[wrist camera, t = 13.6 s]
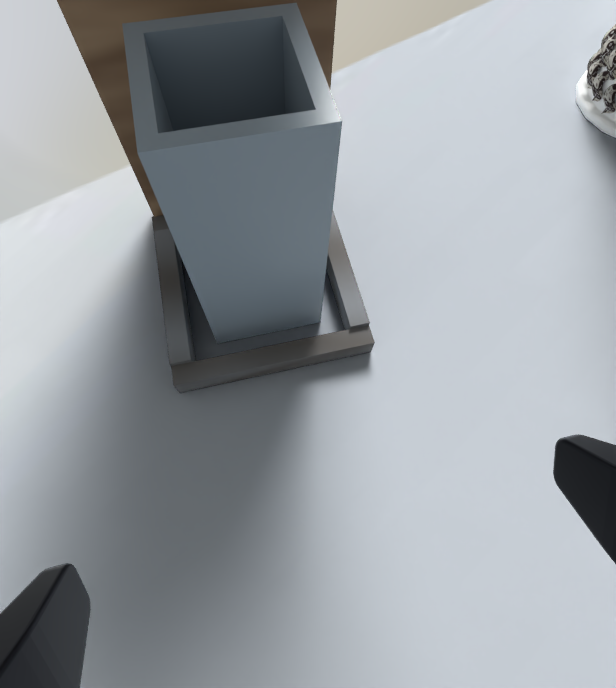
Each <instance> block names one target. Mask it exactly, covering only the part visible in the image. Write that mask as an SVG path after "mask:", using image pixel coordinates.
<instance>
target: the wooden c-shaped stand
mask: <svg viewBox="0 0 616 688" xmlns="http://www.w3.org/2000/svg"><path fill="white" fill-rule="evenodd" d="M57 2H58V4H59V6H60V8H61V11H62V13H63V15H64V17H65V19H66V22H67V24H68V26H69V28H70V31H71V33H72V35H73V37H74V39H75V42H76V44H77V46H78V48H79V51H80V53H81V55H82V57H83V59H84V62H85V64H86V66H87V68H88V71H89V73H90V75H91V77H92V80H93V81H94V84H95V86H96V88H97V91H98V93H99V95H100V97H101V100H102V102H103V104H104V106H105V108H106V110H107V113H108V115H109V117H110V119H111V122H112V124H113V126H114V128H115V130H116V133H117V135H118V137H119V140H120V142H121V144H122V146H123V148H124V150H125V153H126V155H127V157H128V160H129V162H130V164H131V166H132V168H133V171H134V173H135V175H136V177H137V180H138V182H139V184H140V186H141V188H142V191H143V193H144V195H145V197H146V200H147V202H148V204H149V206H150V208H151V211H152V213H153V215H154V217H152V221H153V229H154V238H155V246H156V254H157V263H158V271H159V279H160V288H161V296H162V304H163V313H164V321H165V330H166V338H167V346H168V355H169V363H170V365H171V368H172V376H173V384H174V386H175V388H176V389H177V390H178V391H179V392H180V393H182V392H186V391H191V390H196V389H200V388H205V387H210V386H214V385H219V384H224V383H228V382H233V381H237V380H242V379H247V378H251V377H256V376H261V375H265V374H270V373H275V372H279V371H284V370H289V369H293V368H298V367H303V366H307V365H312V364H317V363H321V362H326V361H331V360H335V359H340V358H344V357H349V356H354V355H358V354H363V353H368V352H371V350H372V348H373V345H374V339H373V336H372V333H371V330H370V327H369V323H370V322H369V319H368V316H367V313H366V310H365V307H364V304H363V300H362V297H361V294H360V291H359V288H358V285H357V282H356V279H355V276H354V273H353V270H352V267H351V264H350V261H349V258H348V255H347V252H346V249H345V246H344V243H343V240H342V236H341V233H340V230H339V227H338V224H337V221H336V218H335V215H334V212H333V210H332V219H331V228H330V237H329V246H328V256H327V265H326V269H327V272H328V276H329V279H330V282H331V286H332V289H333V292H334V296H335V299H336V302H337V306H338V309H339V312H340V316H341V319H342V322H343V326H344V329H345V330H343V331H338V332H333V333H329V334H324V335H319V336H314V337H309V338H304V339H300V340H295V341H290V342H285V343H280V344H276V345H271V346H266V347H261V348H256V349H251V350H247V351H242V352H237V353H232V354H227V355H223V356H218V357H213V358H208V359H203V360H199V361H196V359H195V352H194V345H193V338H192V331H191V324H190V318H189V311H188V304H187V297H186V290H185V283H184V276H183V270H182V263H181V256H180V253H179V251H178V249H177V246H176V244H175V241H174V239H173V237H172V234H171V232H170V229H169V227H168V225H167V222H166V220H165V218H164V215H163V213H162V210H161V208H160V206H159V203H158V201H157V198H156V196H155V194H154V191H153V189H152V186H151V184H150V182H149V179H148V177H147V174H146V172H145V170H144V167H143V165H142V163H141V160H140V158H139V155H138V153H137V145H136V136H135V128H134V120H133V111H132V103H131V94H130V86H129V77H128V69H127V60H126V52H125V43H124V35H123V27H122V24H123V23H132V22H140V21H148V20H156V19H165V18H173V17H181V16H190V15H198V14H206V13H214V12H223V11H231V10H239V9H248V8H256V7H264V6H272V5H281V4H289V3H297V5H298V8H299V10H300V13H301V16H302V18H303V21H304V23H305V26H306V29H307V31H308V34H309V36H310V39H311V42H312V44H313V47H314V49H315V52H316V55H317V57H318V60H319V63H320V65H321V68H322V70H323V73H324V76H325V78H326V81H327V83H328V86H329V89H330V86H331V73H332V58H333V45H334V32H335V31H334V30H335V18H336V5H337V0H57Z"/></svg>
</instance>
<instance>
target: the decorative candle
mask: <svg viewBox="0 0 616 688" xmlns="http://www.w3.org/2000/svg"><path fill="white" fill-rule="evenodd" d="M575 89H576V103H577V105H578V106H579V108H580V110H581V111H582V113H583V115H584V116H585V118H586V119H587V120H589V121H590V122H591V123H592V124H593V125H595V126H596V127H597V128H598V129H600V130H601V131H602V132H603V133H605V134H608V135H610V136H612V137H614V138H616V24H615V25H614V26H613V27H612V29H610V30H609V31H608V32H607V33H606V34H605V36H604V38H603V40H602V43H601V48H600V49H599V51H598V52H597V53H596V54H594V55H593V56H592V58H591V59H590V61H589V63H588V67H587V70H586V72H585V73H584V75H583V76H582V77H581V79H580V80H579V82H578V83H577V85H576V87H575Z"/></svg>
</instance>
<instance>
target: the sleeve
mask: <svg viewBox="0 0 616 688" xmlns="http://www.w3.org/2000/svg"><path fill="white" fill-rule="evenodd" d="M122 27H123V35H124V43H125V52H126V60H127V69H128V77H129V86H130V94H131V103H132V111H133V120H134V128H135V136H136V145H137V153H138V155H139V158H140V160H141V163H142V165H143V167H144V170H145V172H146V174H147V177H148V179H149V182H150V184H151V186H152V189H153V191H154V194H155V196H156V198H157V201H158V203H159V206H160V208H161V210H162V213H163V215H164V218H165V220H166V222H167V225H168V227H169V229H170V232H171V234H172V237H173V239H174V241H175V244H176V246H177V249H178V251H179V253H180V256H181V258H182V261H183V263H184V265H185V268H186V270H187V272H188V275H189V277H190V280H191V282H192V284H193V287H194V289H195V292H196V294H197V296H198V299H199V301H200V304H201V306H202V308H203V311H204V313H205V315H206V318H207V320H208V323H209V325H210V327H211V330H212V332H213V335H214V337H215V339H216V342H217V344H219V343H223V342H228V341H233V340H238V339H243V338H247V337H252V336H257V335H262V334H267V333H271V332H276V331H281V330H286V329H290V328H295V327H300V326H305V325H310V324H314V323H319V322H320V320H321V311H322V302H323V293H324V283H325V274H326V265H327V256H328V246H329V237H330V228H331V219H332V210H333V200H334V191H335V182H336V173H337V163H338V154H339V145H340V136H341V126H342V120H341V117H340V115H339V112H338V109H337V107H336V104H335V102H334V99H333V96H332V94H331V91H330V89H329V86H328V83H327V81H326V78H325V76H324V73H323V70H322V68H321V65H320V63H319V60H318V57H317V55H316V52H315V49H314V47H313V44H312V42H311V39H310V36H309V34H308V31H307V29H306V26H305V23H304V21H303V18H302V16H301V13H300V10H299V8H298V5H297V3H289V4H281V5H272V6H264V7H256V8H248V9H239V10H231V11H223V12H214V13H206V14H198V15H190V16H181V17H173V18H165V19H156V20H148V21H140V22H132V23H123V24H122Z"/></svg>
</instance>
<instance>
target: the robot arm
mask: <svg viewBox="0 0 616 688" xmlns="http://www.w3.org/2000/svg"><path fill="white" fill-rule="evenodd" d="M553 474H554V479H555V482H556V484H557V486H558V487H559V489H560V490H561V491H562V493H563V494H564V495H565V497H566V498H567V500H568V501H569V502H570V504H571V505H572V506H573V508H574V509H575V510H576V512H577V513H578V515H579V516H580V517H581V519H582V520H583V521H584V523H585V524H586V526H587V527H588V528H589V530H590V531H591V532H592V534H593V535H594V536H595V538H596V539H597V541H598V542H599V543H600V545H601V546H602V547H603V549H604V550H605V551H606V552H607V554H608V555H609V556H610V558H611V559H612V560H613V561H614V562H615V564H616V445H613V444H610V443H607V442H603V441H600V440H597V439H594V438H590V437H587V436H584V435H572V436H568V437H564V438H561V439H559V440H558V441H557V443H556V446H555V457H554V470H553ZM89 617H90V599H89V595H88V593H87V591H86V589H85V587H84V585H83V583H82V581H81V578H80V576H79V574H78V572H77V570H76V568H75V567H74V566H73V565H72V564H68V563H67V564H62V565H58V566H54V567H50V568H47V569H45V570H43V571H42V572H41V573H40V574H39V575H38V576H37V577H36V578H35V579H34V580H33V581H32V582H31V583H30V584H29V585H28V586H27V587H26V588H25V589H24V590H23V591H22V592H21V593H20V594H19V595H18V596H17V597H16V598H15V599H14V600H13V601H12V602H11V603H10V604H9V605H8V606H7V607H6V608H5V610H4V611H3V612H2V613H1V614H0V688H80V683H81V675H82V668H83V661H84V653H85V646H86V639H87V631H88V624H89Z"/></svg>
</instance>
